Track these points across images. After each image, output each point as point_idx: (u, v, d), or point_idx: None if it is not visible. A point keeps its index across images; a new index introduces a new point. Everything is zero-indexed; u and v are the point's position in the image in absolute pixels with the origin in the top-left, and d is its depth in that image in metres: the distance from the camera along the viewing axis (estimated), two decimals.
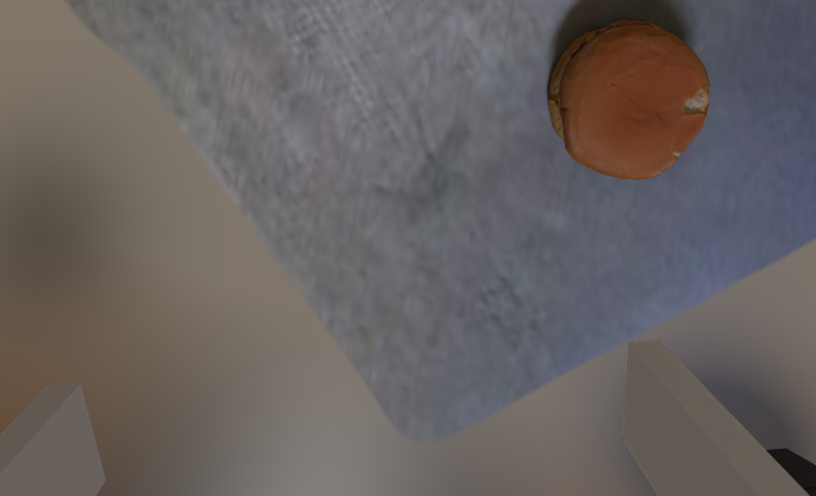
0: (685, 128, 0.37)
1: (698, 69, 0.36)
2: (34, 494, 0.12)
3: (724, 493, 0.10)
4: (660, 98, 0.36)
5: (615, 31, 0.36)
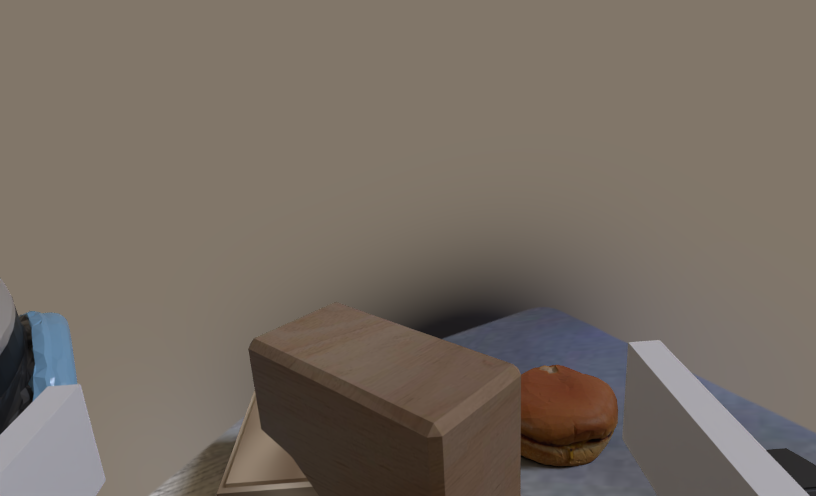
0: (567, 370, 0.53)
1: (527, 371, 0.53)
2: (34, 494, 0.12)
3: (724, 493, 0.10)
4: (551, 382, 0.51)
5: None
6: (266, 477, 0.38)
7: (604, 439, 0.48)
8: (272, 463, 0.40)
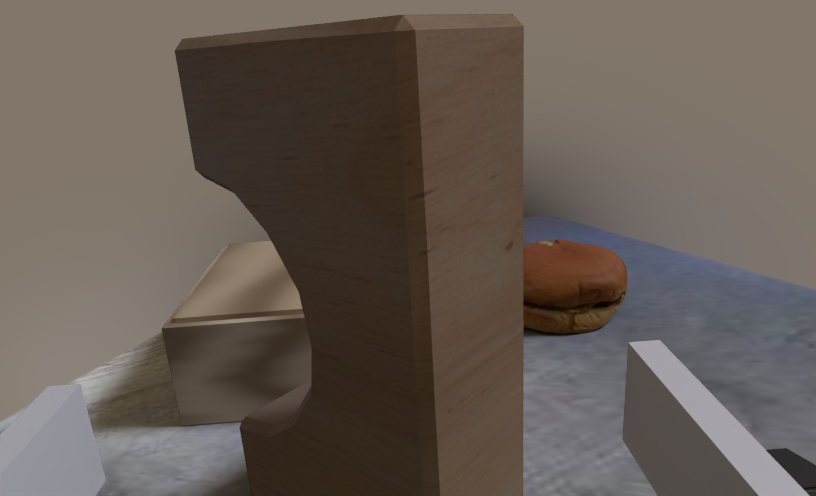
0: None
1: None
2: (34, 494, 0.12)
3: (724, 493, 0.10)
4: (552, 250, 0.45)
5: None
6: (221, 312, 0.33)
7: (612, 305, 0.42)
8: (230, 302, 0.34)
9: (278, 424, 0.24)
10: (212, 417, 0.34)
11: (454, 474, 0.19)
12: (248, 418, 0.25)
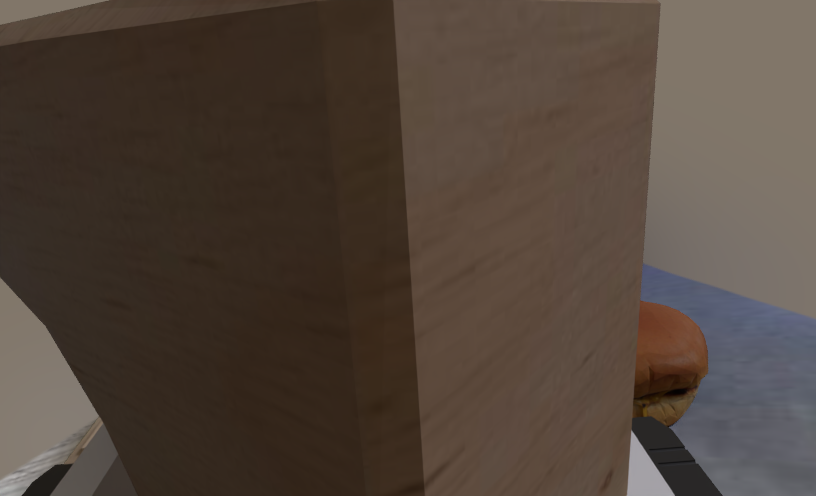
0: None
1: None
2: None
3: None
4: None
5: None
6: None
7: (690, 391, 0.32)
8: None
9: None
10: None
11: None
12: None
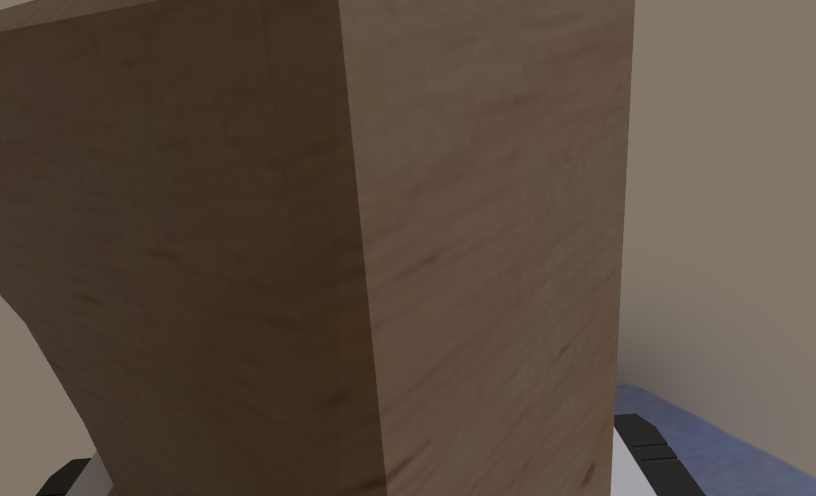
0: None
1: None
2: None
3: None
4: None
5: None
6: None
7: None
8: None
9: None
10: None
11: None
12: None
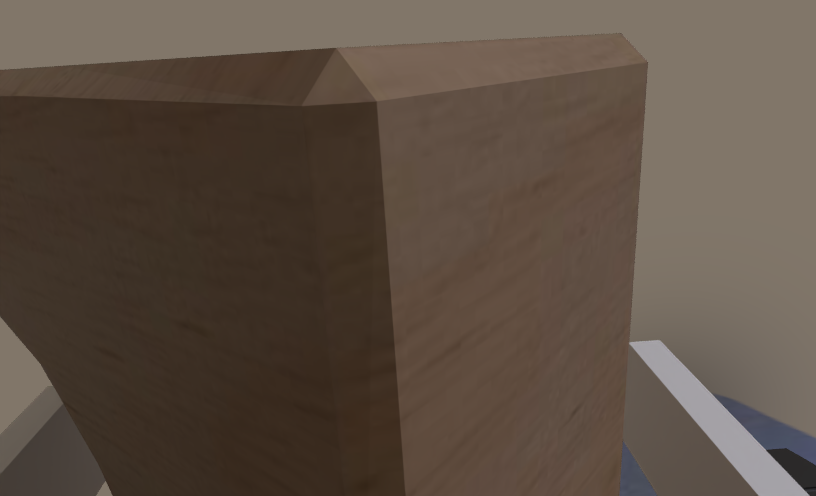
0: None
1: None
2: (34, 494, 0.12)
3: (724, 493, 0.10)
4: None
5: None
6: None
7: None
8: None
9: None
10: None
11: None
12: None
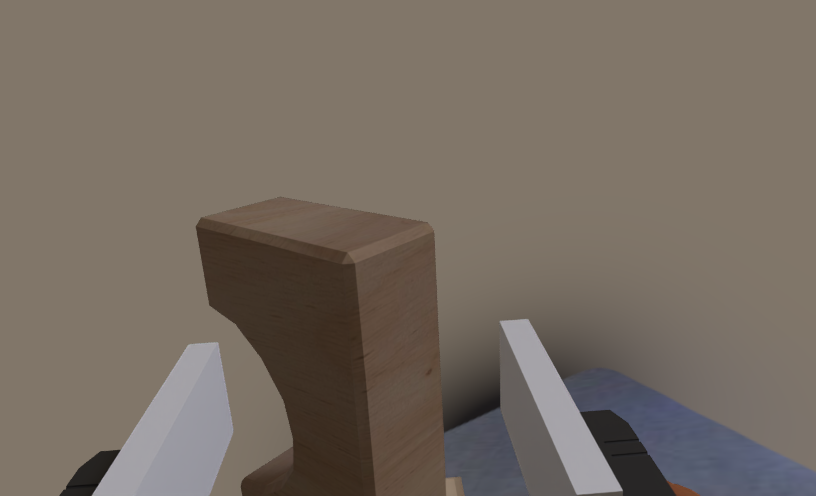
0: None
1: None
2: (197, 433, 0.14)
3: (541, 446, 0.12)
4: None
5: None
6: None
7: None
8: None
9: (269, 486, 0.32)
10: None
11: None
12: (247, 479, 0.34)
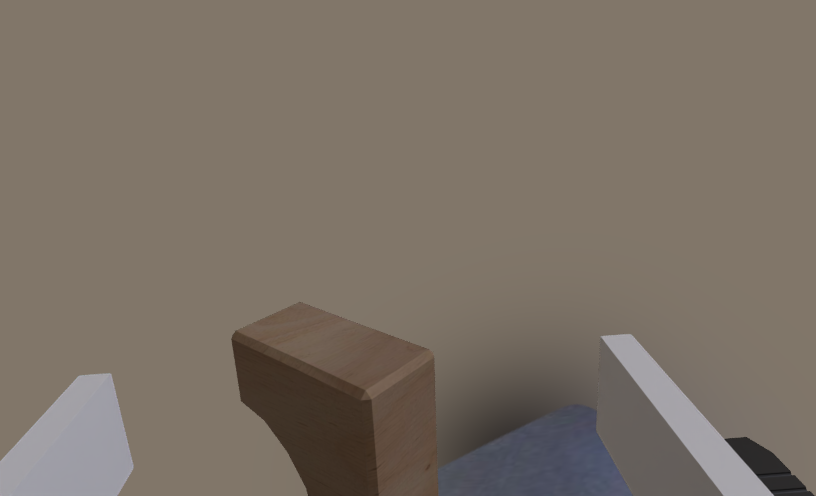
0: None
1: None
2: (71, 478, 0.12)
3: (683, 479, 0.11)
4: None
5: None
6: None
7: None
8: None
9: None
10: None
11: None
12: None
